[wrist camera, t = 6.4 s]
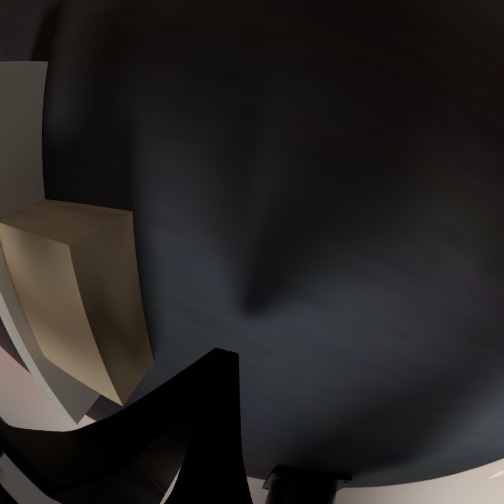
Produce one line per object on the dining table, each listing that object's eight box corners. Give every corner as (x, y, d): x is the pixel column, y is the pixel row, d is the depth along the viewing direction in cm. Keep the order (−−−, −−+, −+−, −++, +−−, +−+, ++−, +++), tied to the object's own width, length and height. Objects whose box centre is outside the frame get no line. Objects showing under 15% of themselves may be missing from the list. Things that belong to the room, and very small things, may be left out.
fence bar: (103, 390, 17) (77, 424, 13) (82, 378, 17) (56, 409, 14) (48, 61, 7) (-20, 63, 4) (26, 73, 8) (-34, 80, 4)
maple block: (156, 358, 13) (122, 405, 10) (78, 323, 14) (44, 356, 11) (136, 209, 9) (68, 245, 6) (50, 197, 10) (-4, 221, 7)
